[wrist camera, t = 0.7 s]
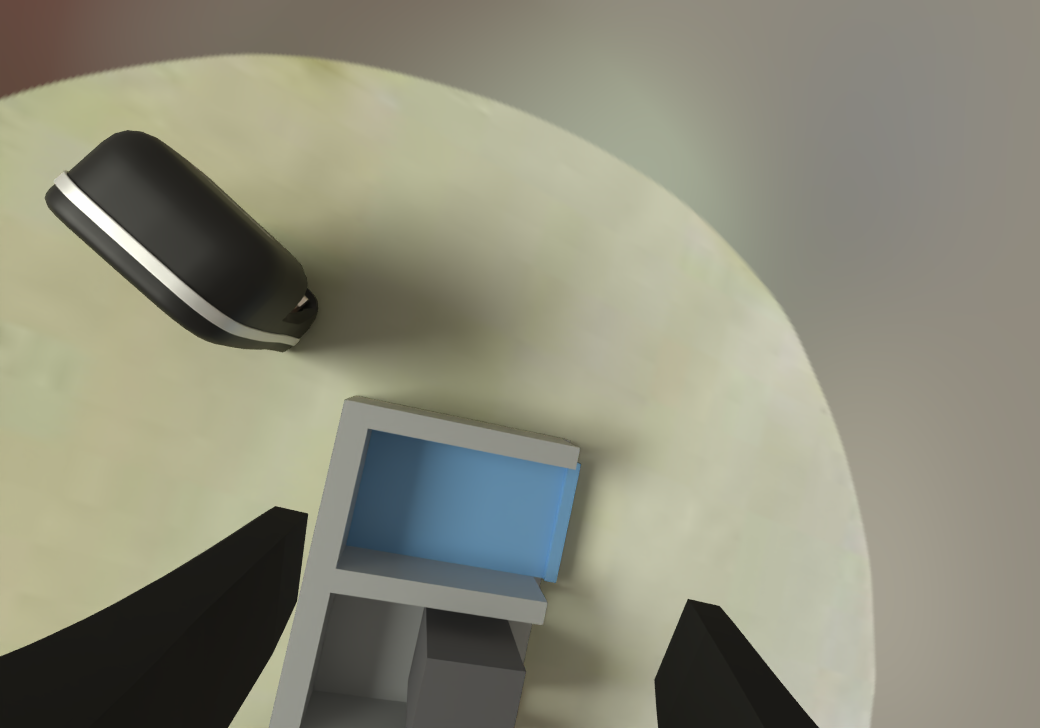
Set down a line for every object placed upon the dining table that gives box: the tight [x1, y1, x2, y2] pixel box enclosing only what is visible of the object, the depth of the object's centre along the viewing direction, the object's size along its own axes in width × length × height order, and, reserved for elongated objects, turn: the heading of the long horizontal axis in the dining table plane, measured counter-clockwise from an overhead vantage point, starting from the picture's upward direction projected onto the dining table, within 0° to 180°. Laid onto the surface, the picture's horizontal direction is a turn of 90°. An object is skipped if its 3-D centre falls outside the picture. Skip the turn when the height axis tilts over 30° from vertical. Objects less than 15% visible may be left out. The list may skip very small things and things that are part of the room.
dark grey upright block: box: [406, 607, 526, 728], centre depth 26 cm, size 4×4×6 cm
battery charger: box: [45, 130, 318, 352], centre depth 23 cm, size 7×4×11 cm, turn 47°
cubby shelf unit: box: [269, 396, 581, 728], centre depth 28 cm, size 15×12×4 cm
